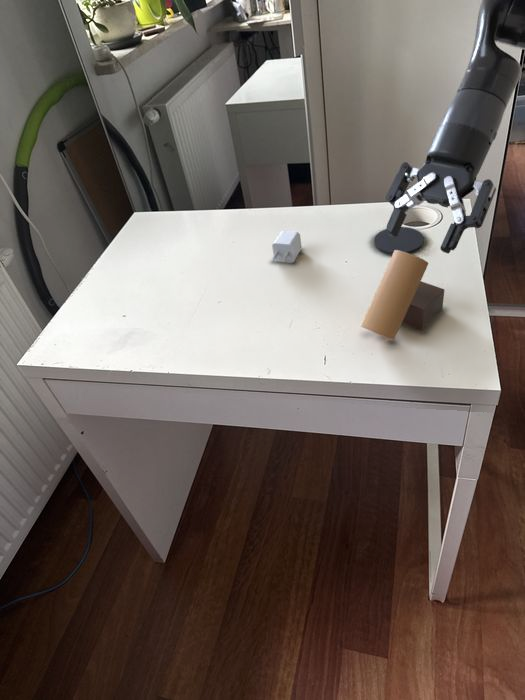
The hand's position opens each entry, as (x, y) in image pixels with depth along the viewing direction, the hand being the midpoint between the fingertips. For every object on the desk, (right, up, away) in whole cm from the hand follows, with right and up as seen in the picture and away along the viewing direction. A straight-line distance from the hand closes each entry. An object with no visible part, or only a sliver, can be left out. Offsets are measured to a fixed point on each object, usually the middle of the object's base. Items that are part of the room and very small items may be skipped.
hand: (417, 243), depth 75 cm
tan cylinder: (-2, -12, +5) cm, 13 cm away
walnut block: (+1, -9, +7) cm, 12 cm away
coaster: (+3, +5, +22) cm, 23 cm away
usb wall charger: (-18, +2, +24) cm, 30 cm away
